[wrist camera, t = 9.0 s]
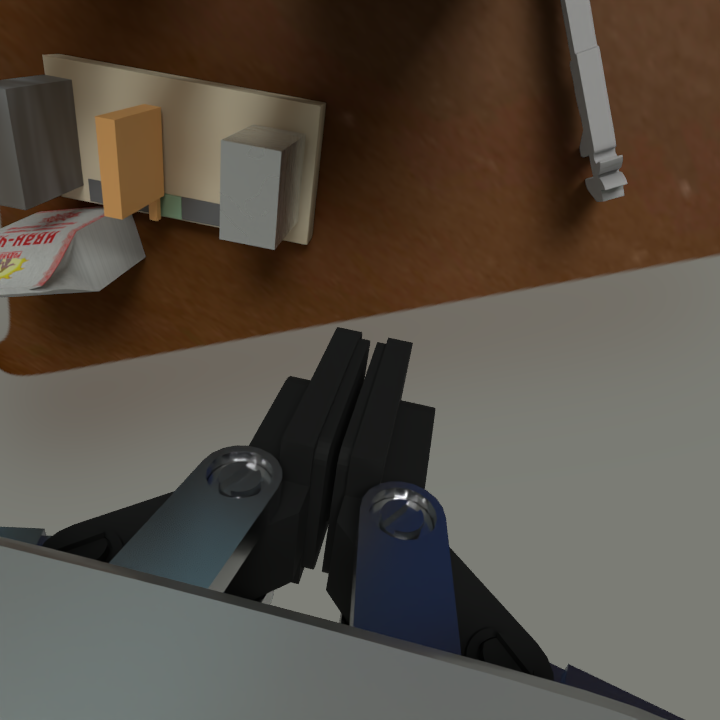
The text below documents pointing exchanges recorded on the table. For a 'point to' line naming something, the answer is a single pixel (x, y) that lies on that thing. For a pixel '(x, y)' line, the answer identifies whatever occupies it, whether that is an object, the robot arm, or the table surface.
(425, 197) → the table surface
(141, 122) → the orange rectangular slab
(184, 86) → the board
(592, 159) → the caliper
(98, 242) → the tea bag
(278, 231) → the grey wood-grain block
